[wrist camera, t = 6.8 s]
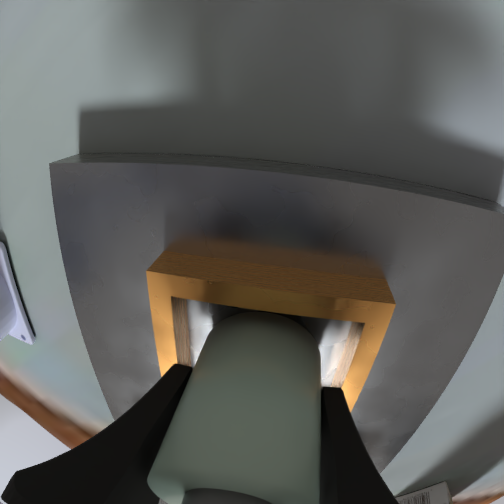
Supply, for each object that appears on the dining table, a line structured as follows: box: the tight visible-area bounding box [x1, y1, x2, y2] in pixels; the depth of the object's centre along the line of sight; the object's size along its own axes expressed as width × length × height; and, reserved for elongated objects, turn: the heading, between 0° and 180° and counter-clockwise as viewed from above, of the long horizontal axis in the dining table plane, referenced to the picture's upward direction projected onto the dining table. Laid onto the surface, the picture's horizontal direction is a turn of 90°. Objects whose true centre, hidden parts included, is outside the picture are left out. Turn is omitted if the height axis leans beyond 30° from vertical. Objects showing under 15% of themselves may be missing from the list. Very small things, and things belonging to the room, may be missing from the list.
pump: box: [147, 312, 322, 504], centre depth 8 cm, size 4×4×7 cm
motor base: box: [49, 153, 504, 504], centre depth 13 cm, size 18×22×7 cm
